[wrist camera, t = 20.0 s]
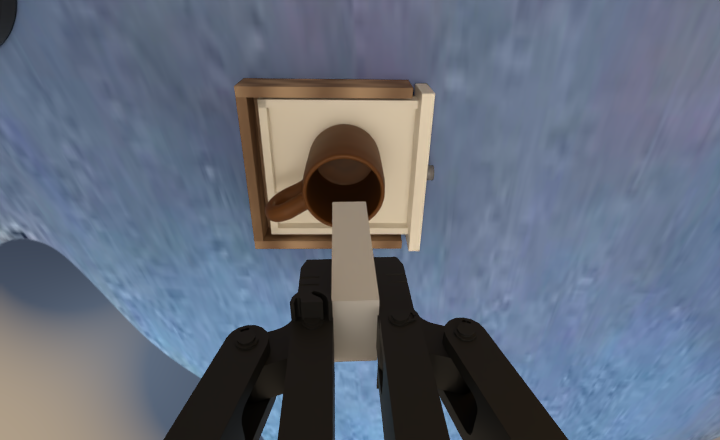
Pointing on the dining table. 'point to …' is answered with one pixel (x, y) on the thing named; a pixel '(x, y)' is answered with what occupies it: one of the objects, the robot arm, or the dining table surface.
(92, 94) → the dining table surface
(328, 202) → the mug
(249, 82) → the frame
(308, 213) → the drawer
